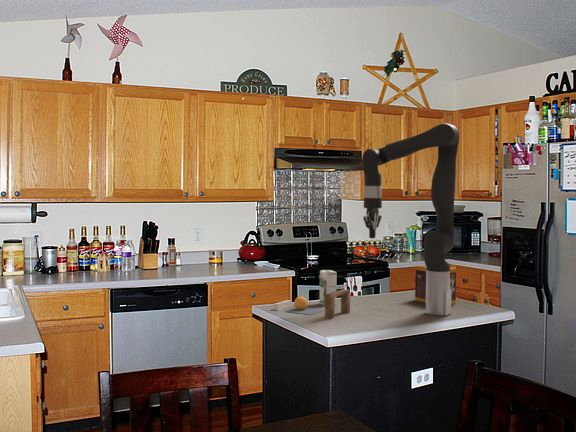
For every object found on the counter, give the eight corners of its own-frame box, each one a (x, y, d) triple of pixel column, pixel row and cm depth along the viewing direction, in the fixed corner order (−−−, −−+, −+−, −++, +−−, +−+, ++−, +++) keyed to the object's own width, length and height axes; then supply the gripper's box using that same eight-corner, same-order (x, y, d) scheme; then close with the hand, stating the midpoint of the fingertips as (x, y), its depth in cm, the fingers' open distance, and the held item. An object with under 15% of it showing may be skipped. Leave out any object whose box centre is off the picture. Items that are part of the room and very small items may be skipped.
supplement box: (437, 306, 262) (438, 269, 261) (414, 300, 275) (415, 265, 275) (456, 303, 267) (456, 268, 266) (432, 298, 280) (433, 264, 280)
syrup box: (318, 303, 266) (319, 270, 266) (331, 302, 268) (331, 269, 268) (324, 305, 261) (324, 271, 260) (336, 305, 263) (337, 271, 262)
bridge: (349, 312, 247) (350, 289, 246) (331, 318, 235) (331, 295, 234) (343, 311, 248) (343, 289, 248) (324, 318, 236) (325, 294, 236)
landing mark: (325, 310, 251) (325, 309, 251) (310, 315, 241) (310, 314, 241) (301, 307, 258) (301, 306, 258) (284, 311, 248) (284, 311, 248)
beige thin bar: (291, 306, 260) (291, 300, 259) (278, 310, 251) (278, 304, 251) (287, 305, 261) (287, 300, 261) (274, 309, 252) (274, 303, 252)
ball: (308, 310, 253) (311, 298, 252) (300, 313, 249) (303, 300, 248) (298, 305, 256) (300, 293, 255) (290, 308, 252) (292, 295, 251)
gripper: (373, 197, 250) (373, 239, 251) (387, 196, 261) (387, 237, 262) (357, 197, 254) (357, 238, 255) (371, 196, 265) (371, 236, 266)
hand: (372, 238), depth 258 cm, fingers closed
